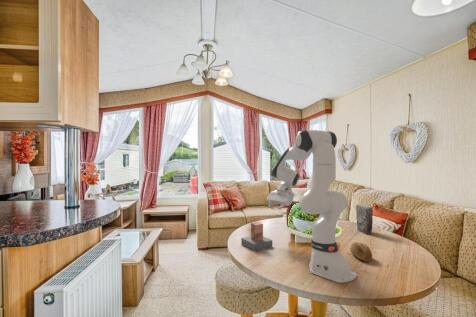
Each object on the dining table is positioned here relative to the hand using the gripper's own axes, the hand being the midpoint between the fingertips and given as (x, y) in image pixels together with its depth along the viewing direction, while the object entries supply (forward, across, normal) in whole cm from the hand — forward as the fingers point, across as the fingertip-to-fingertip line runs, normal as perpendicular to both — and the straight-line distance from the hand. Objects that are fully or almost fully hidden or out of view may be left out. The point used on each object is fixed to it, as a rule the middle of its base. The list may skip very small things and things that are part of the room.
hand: (274, 208), depth 167 cm
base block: (+26, -3, +4) cm, 26 cm away
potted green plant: (-9, -21, +45) cm, 51 cm away
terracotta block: (+22, -2, +2) cm, 23 cm away
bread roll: (+4, +46, +33) cm, 56 cm away
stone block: (-28, +21, +70) cm, 79 cm away
